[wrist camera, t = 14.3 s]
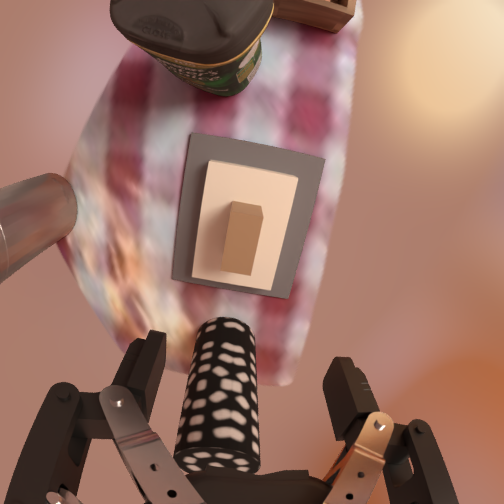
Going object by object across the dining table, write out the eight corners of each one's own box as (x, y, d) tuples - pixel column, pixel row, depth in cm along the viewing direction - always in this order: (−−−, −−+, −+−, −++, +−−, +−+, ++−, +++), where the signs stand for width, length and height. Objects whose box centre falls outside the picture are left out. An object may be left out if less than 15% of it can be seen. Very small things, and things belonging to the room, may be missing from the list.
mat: (287, 297, 37) (287, 298, 37) (172, 277, 36) (172, 279, 36) (324, 158, 31) (325, 159, 30) (192, 132, 29) (191, 132, 29)
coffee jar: (161, 75, 27) (75, 23, 9) (196, 20, 24) (150, -72, 7) (237, 108, 28) (225, 69, 11) (272, 51, 26) (300, -36, 9)
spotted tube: (186, 328, 39) (155, 451, 21) (239, 308, 38) (235, 440, 19) (214, 366, 42) (202, 482, 23) (264, 350, 41) (273, 472, 22)
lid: (269, 282, 36) (273, 311, 30) (194, 269, 35) (184, 296, 29) (295, 175, 31) (307, 185, 25) (211, 159, 30) (202, 164, 24)
